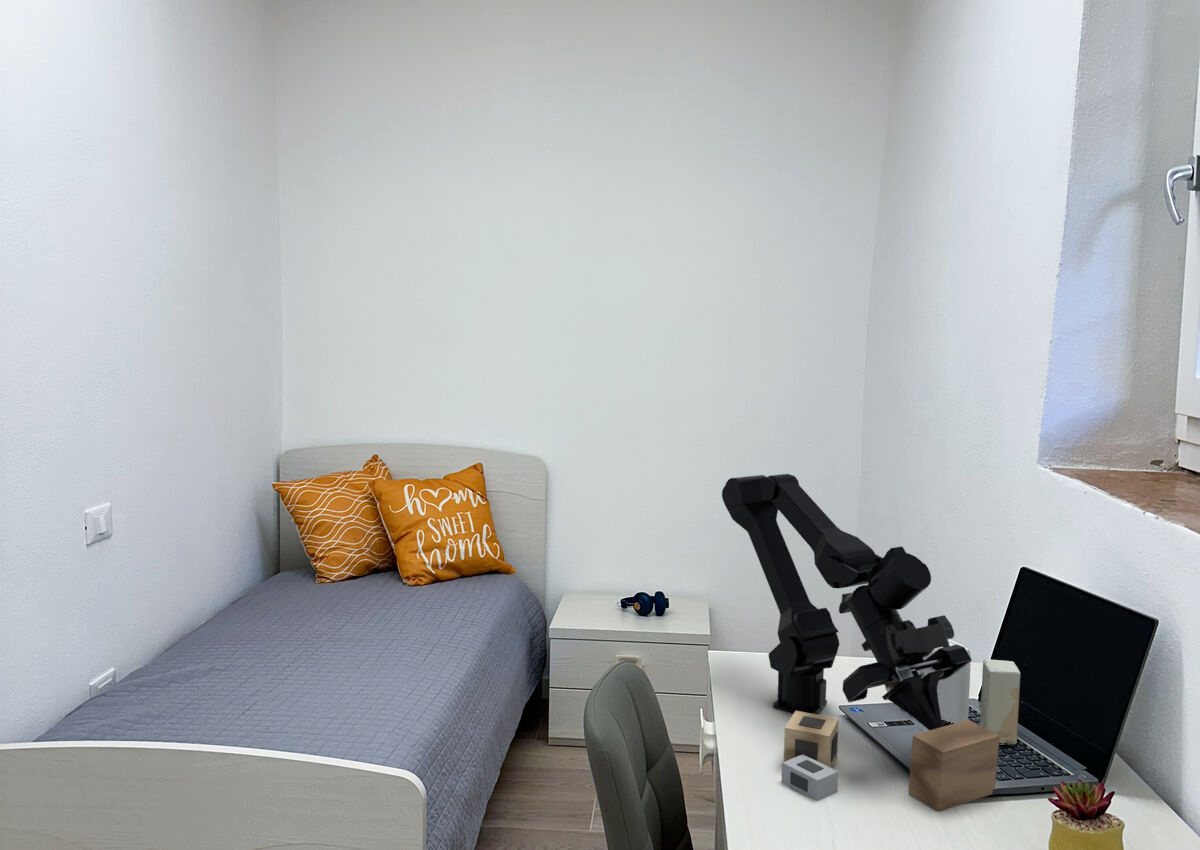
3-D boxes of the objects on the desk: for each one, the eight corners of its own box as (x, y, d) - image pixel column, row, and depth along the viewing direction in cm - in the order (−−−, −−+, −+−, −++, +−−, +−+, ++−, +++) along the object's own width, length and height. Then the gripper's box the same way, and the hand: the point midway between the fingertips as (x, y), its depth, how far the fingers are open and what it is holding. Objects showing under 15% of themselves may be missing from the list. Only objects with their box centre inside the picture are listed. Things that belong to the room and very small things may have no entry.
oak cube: (783, 770, 133) (784, 727, 132) (794, 751, 139) (795, 709, 138) (828, 779, 130) (830, 735, 130) (838, 760, 136) (840, 717, 135)
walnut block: (908, 793, 127) (912, 735, 125) (963, 775, 131) (968, 719, 130) (938, 812, 122) (943, 752, 121) (994, 793, 127) (999, 735, 126)
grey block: (780, 784, 129) (781, 761, 129) (802, 775, 132) (802, 753, 132) (816, 803, 125) (816, 779, 124) (837, 793, 127) (838, 770, 127)
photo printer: (895, 709, 152) (899, 632, 151) (908, 701, 156) (912, 625, 154) (960, 729, 145) (965, 649, 144) (972, 720, 149) (977, 641, 147)
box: (1016, 748, 139) (1021, 673, 138) (984, 745, 140) (989, 671, 139) (1009, 732, 145) (1013, 660, 143) (978, 729, 145) (982, 657, 144)
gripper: (860, 607, 126) (921, 721, 118) (964, 587, 135) (1027, 693, 127) (818, 647, 134) (872, 756, 126) (918, 626, 143) (975, 727, 134)
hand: (939, 732), depth 128 cm, fingers closed
